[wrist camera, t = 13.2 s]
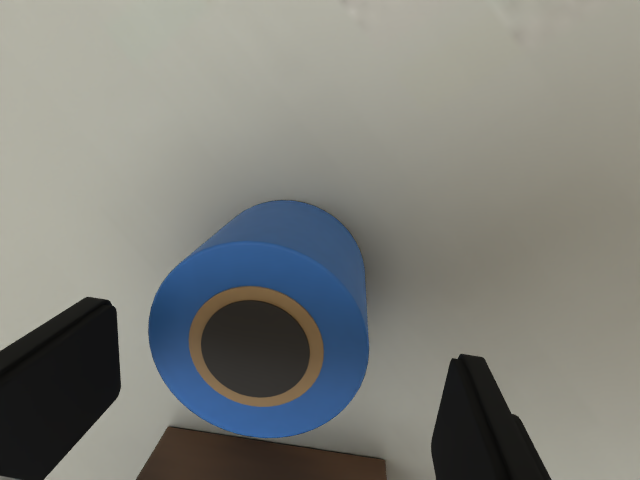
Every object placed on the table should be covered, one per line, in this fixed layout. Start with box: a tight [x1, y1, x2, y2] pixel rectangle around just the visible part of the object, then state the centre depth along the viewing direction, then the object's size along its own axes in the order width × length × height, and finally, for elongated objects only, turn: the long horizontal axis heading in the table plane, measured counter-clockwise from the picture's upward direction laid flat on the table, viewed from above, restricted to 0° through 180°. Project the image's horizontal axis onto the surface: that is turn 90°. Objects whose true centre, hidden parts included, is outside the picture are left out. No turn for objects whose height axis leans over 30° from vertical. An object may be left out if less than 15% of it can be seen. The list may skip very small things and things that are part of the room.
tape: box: [148, 200, 369, 438], centre depth 14 cm, size 7×7×6 cm
